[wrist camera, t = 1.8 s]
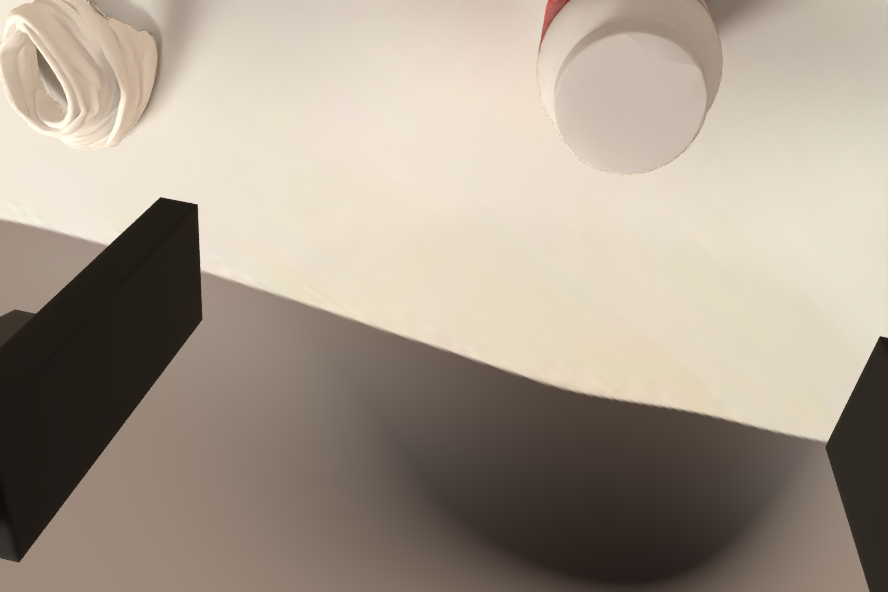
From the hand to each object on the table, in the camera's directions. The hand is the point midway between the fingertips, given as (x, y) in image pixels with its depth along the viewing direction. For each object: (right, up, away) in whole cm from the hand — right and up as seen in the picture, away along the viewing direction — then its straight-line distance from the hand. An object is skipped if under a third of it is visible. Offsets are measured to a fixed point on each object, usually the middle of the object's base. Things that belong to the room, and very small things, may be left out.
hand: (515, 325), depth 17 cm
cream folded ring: (-18, +12, +24) cm, 32 cm away
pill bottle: (+6, +13, +19) cm, 23 cm away
